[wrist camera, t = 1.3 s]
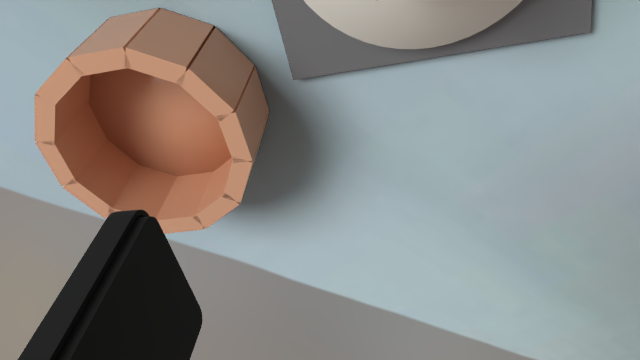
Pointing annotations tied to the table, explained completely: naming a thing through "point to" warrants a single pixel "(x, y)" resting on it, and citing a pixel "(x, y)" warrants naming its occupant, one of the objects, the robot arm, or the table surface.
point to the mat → (352, 54)
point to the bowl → (154, 120)
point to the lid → (411, 19)
